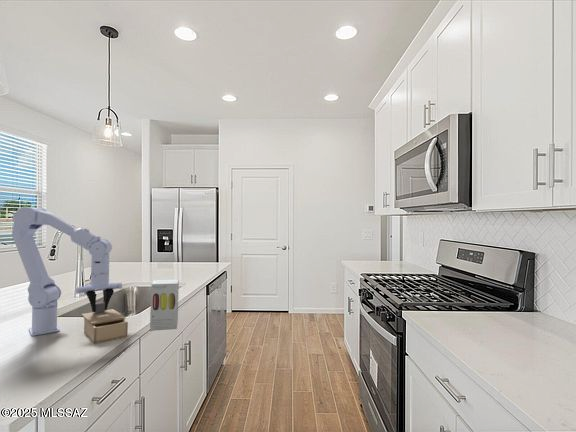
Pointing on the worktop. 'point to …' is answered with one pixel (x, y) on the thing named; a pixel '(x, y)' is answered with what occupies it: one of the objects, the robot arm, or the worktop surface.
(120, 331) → the carton
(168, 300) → the supplement box
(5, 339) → the worktop surface
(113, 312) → the carton lid
